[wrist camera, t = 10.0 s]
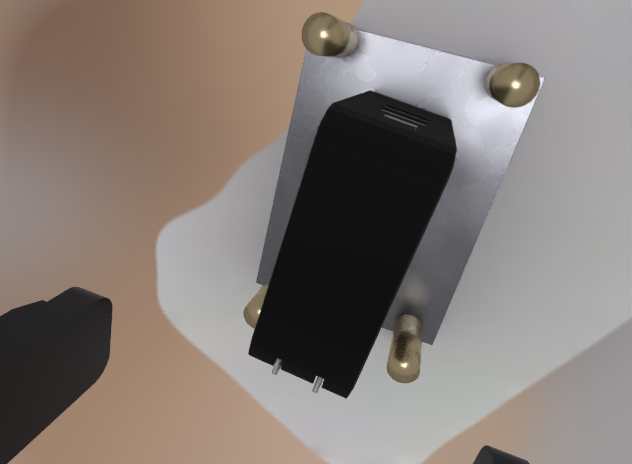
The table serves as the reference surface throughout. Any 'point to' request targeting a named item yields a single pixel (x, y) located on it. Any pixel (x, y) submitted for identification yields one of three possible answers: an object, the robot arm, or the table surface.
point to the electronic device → (352, 236)
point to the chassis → (464, 182)
